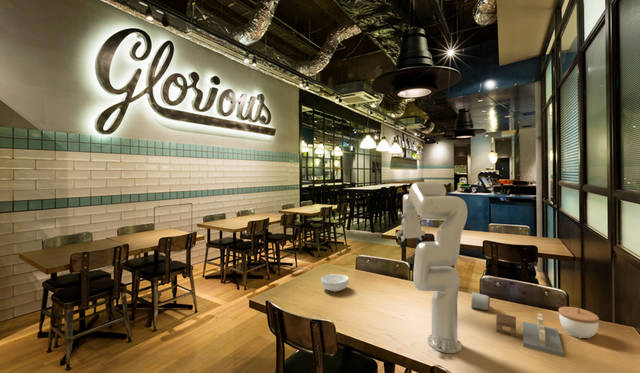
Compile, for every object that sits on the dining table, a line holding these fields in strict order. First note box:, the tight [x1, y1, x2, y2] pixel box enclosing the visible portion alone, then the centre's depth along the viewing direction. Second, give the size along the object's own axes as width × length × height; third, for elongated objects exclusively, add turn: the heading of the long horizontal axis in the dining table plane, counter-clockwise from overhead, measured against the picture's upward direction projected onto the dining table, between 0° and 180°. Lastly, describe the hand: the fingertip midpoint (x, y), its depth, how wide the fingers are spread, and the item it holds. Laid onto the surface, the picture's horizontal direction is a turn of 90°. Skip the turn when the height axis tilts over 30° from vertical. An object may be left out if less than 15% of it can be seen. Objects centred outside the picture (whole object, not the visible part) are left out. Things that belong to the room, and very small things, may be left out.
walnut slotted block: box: [495, 312, 517, 338], centre depth 122 cm, size 4×7×7 cm, turn 55°
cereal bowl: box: [320, 273, 349, 293], centre depth 173 cm, size 17×17×7 cm
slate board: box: [522, 321, 564, 357], centre depth 117 cm, size 20×12×2 cm, turn 145°
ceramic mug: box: [470, 291, 491, 311], centre depth 146 cm, size 11×8×8 cm
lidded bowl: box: [558, 306, 600, 339], centre depth 120 cm, size 13×13×11 cm
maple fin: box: [536, 313, 545, 347], centre depth 116 cm, size 18×2×6 cm, turn 145°
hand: (410, 247), depth 154 cm, fingers open, 9 cm apart
